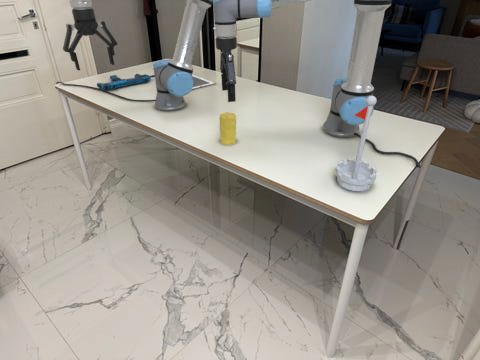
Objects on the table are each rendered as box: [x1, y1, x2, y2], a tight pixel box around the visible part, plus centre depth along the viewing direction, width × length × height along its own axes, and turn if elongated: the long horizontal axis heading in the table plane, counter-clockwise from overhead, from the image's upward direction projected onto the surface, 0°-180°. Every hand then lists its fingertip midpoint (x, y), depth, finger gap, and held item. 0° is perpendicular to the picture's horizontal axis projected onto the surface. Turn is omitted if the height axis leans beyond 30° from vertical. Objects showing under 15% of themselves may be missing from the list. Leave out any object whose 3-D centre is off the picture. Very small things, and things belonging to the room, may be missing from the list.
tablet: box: [191, 73, 216, 91], centre depth 211 cm, size 32×20×1 cm, turn 41°
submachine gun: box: [96, 73, 155, 91], centre depth 208 cm, size 34×4×25 cm
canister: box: [219, 112, 237, 146], centre depth 138 cm, size 6×6×12 cm
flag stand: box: [334, 95, 378, 192], centre depth 107 cm, size 13×13×30 cm
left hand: (95, 66), depth 137 cm, fingers open, 13 cm apart
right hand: (228, 95), depth 131 cm, fingers open, 13 cm apart
